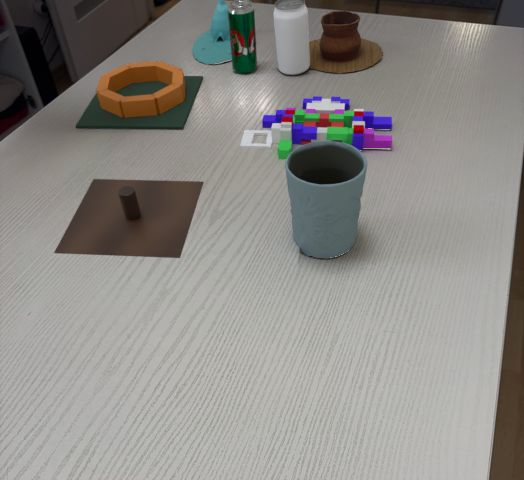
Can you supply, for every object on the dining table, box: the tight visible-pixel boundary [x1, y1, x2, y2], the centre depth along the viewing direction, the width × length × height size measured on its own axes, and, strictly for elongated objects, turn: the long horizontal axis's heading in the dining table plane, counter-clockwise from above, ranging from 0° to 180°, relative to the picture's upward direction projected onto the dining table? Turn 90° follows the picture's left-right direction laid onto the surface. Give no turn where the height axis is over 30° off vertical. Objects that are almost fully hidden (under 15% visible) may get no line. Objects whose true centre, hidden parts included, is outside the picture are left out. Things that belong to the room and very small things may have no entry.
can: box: [273, 0, 310, 76], centre depth 105 cm, size 6×6×12 cm
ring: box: [95, 60, 185, 118], centre depth 103 cm, size 16×16×3 cm
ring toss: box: [54, 178, 205, 259], centre depth 79 cm, size 18×18×5 cm
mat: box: [74, 75, 204, 130], centre depth 104 cm, size 20×20×1 cm
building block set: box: [239, 95, 393, 160], centre depth 92 cm, size 25×20×4 cm
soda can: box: [228, 0, 258, 75], centre depth 106 cm, size 5×5×12 cm
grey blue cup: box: [284, 141, 368, 258], centre depth 71 cm, size 10×10×12 cm
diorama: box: [191, 0, 232, 65], centre depth 116 cm, size 12×20×9 cm, turn 173°
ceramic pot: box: [308, 10, 384, 75], centre depth 111 cm, size 18×18×7 cm
